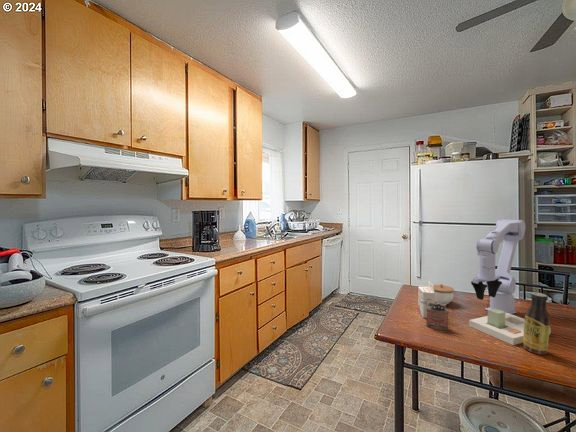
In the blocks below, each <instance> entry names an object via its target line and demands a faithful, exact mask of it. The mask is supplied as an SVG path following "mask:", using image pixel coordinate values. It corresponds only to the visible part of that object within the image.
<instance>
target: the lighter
mask: <svg viewBox="0 0 576 432" xmlns="http://www.w3.org/2000/svg"><path fill="white" fill-rule="evenodd" d="M428 306H432V307H427V308H426V310H427V318H426V323H425V327H426V328H429V329H430V328H431V329H433V330H434V329H435V330H443V331H444V330H449V312H450V310H449V309H447V308H446V305H444V304H440V303H428ZM434 307H435V308H434Z"/></svg>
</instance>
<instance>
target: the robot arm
mask: <svg viewBox="0 0 576 432" xmlns="http://www.w3.org/2000/svg"><path fill="white" fill-rule="evenodd" d="M525 232H526V222H525V221H524V220H523V219H500V218H499V219H498V220H497V221H496V223H495V229H494V230H491V231H490V232H489V233H488V234H487V235H486V236H485V237H483V238H480V239H478V240H477V242H476V251H477V256H478V274H476V275H475V277H472V280H471V282H470V284H471V286H472V287H473V290H474V291H475V294H476V295H475V296H476V298H477V300H481V301H482V300H484V297H485V290H487V291H488V296H489V307H485V311H488V310H489V309H494V308H495V309H498V310H501V311H504V312H506V313H509V314H512V315H514V314H516V313H517V310H516V311H515V302H516V300H515V296H514V293H515V292H516V288H517V287H516V285H517V284H516V282H517V280H516V278H515V277H514V276H513V275H512V274H511V269H512V265H513V262H514V261H513V260H514V258H515V253H516V250H517V246H518V243H519V241H521V240H523V238H524V236H525ZM502 242H503V245H502V247H501V253H500V255H499V259H498V263H497V268H496V258H497V257H496V255H497V253H498V252H499V248H500V244H501V243H502ZM484 283H485V284H484Z"/></svg>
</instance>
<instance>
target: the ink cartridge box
mask: <svg viewBox="0 0 576 432" xmlns="http://www.w3.org/2000/svg"><path fill="white" fill-rule="evenodd" d="M434 285H435V284H433V283H432V282H431V281H430V280H428V286H418V287H417V288H418V289H417V290H418V291H417V292H418V293H417V294H418V297H417V298H418V301H417V304H418V305H417V311H418V312H419V314H420V315H421V316H422V318H423V319H427V310H426V308H427V307H432V306H428V303H435V291H434ZM431 286H432V287H431ZM435 304H436V303H435ZM434 308H435V307H434Z"/></svg>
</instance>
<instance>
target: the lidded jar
mask: <svg viewBox="0 0 576 432" xmlns="http://www.w3.org/2000/svg"><path fill="white" fill-rule="evenodd" d="M433 285H434V291H435V304H436V303H440V304H444V305H445V306H447V304H448V305H449V304H450V303H451V302H452V301H453V300H454V293H455V289H454V288H453V287H451V286H449V285H445V284H433ZM431 287H432V286H431Z"/></svg>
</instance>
